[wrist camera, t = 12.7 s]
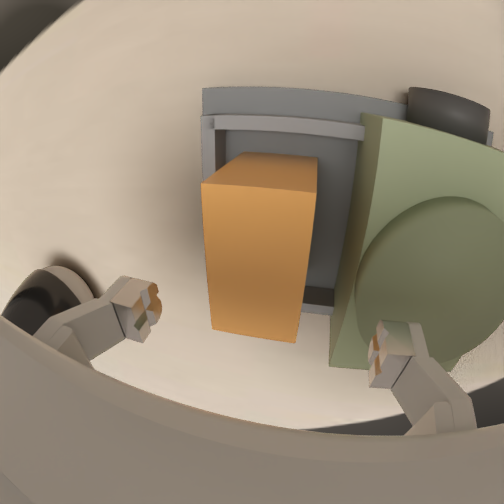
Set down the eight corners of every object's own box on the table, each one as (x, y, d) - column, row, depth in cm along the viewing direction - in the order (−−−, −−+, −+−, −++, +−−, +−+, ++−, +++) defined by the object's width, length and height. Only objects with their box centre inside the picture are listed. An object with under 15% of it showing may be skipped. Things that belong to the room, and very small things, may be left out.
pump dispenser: (51, 234, 26) (-44, 315, 14) (117, 291, 28) (31, 399, 15) (46, 285, 32) (-22, 357, 19) (101, 333, 33) (39, 418, 20)
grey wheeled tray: (487, 116, 12) (570, 142, 5) (426, 324, 21) (446, 405, 14) (208, 74, 16) (129, 65, 8) (216, 299, 25) (178, 376, 18)
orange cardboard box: (317, 157, 16) (316, 193, 10) (304, 273, 20) (294, 346, 14) (243, 151, 17) (200, 183, 11) (243, 265, 21) (212, 333, 15)
